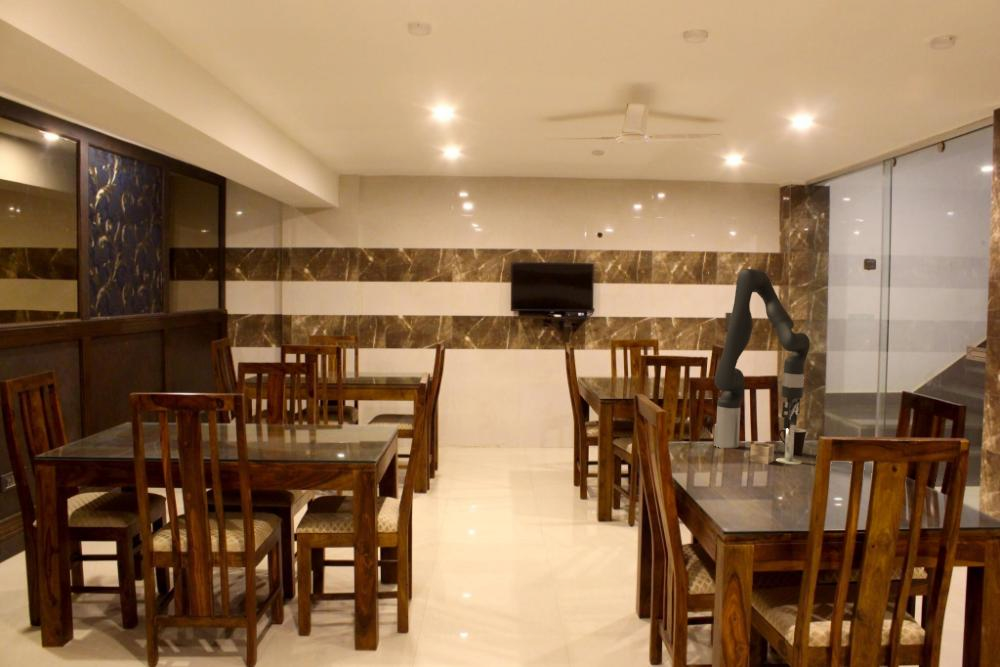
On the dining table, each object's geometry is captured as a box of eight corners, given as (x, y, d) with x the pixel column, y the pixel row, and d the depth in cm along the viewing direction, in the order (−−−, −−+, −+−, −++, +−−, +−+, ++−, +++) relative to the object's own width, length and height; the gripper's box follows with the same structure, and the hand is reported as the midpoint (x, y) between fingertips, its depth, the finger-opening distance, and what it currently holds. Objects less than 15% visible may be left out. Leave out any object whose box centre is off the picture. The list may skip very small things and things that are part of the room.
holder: (749, 463, 274) (750, 445, 274) (755, 460, 279) (756, 442, 279) (767, 466, 270) (768, 447, 270) (773, 462, 275) (773, 445, 275)
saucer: (772, 463, 275) (773, 460, 275) (780, 459, 282) (780, 456, 282) (797, 467, 269) (797, 464, 269) (804, 463, 276) (804, 460, 276)
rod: (783, 460, 275) (784, 424, 274) (785, 459, 277) (787, 423, 277) (791, 462, 273) (793, 425, 272) (794, 460, 276) (795, 424, 275)
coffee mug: (808, 457, 287) (809, 432, 286) (786, 456, 287) (787, 431, 286) (796, 450, 298) (798, 426, 298) (776, 449, 298) (777, 426, 298)
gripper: (788, 382, 281) (785, 423, 282) (776, 385, 270) (774, 428, 271) (808, 384, 277) (805, 425, 278) (797, 388, 265) (794, 431, 267)
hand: (790, 427), depth 275 cm, fingers open, 8 cm apart
